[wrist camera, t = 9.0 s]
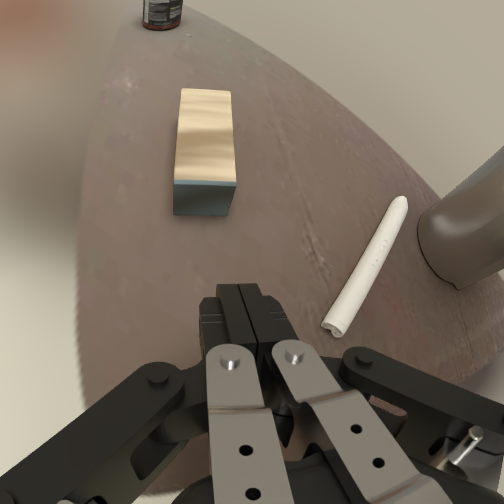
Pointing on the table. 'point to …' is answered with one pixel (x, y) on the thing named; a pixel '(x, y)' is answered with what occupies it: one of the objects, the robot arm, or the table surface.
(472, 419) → the robot arm
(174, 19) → the supplement bottle
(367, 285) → the marker
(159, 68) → the table surface
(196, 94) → the beech block
